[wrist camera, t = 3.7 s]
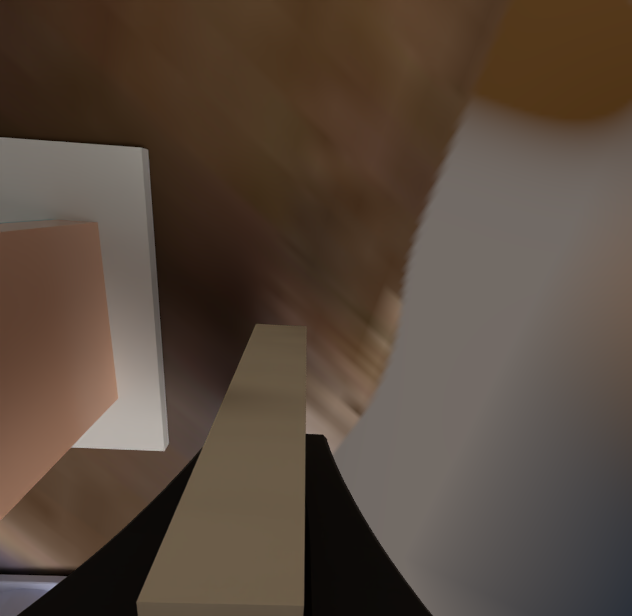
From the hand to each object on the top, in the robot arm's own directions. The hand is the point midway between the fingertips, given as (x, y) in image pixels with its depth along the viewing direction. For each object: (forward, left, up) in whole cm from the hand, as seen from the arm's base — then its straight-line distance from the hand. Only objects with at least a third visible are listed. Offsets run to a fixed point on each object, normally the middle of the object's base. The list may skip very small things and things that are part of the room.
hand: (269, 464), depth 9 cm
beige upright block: (0, 0, -3) cm, 3 cm away
